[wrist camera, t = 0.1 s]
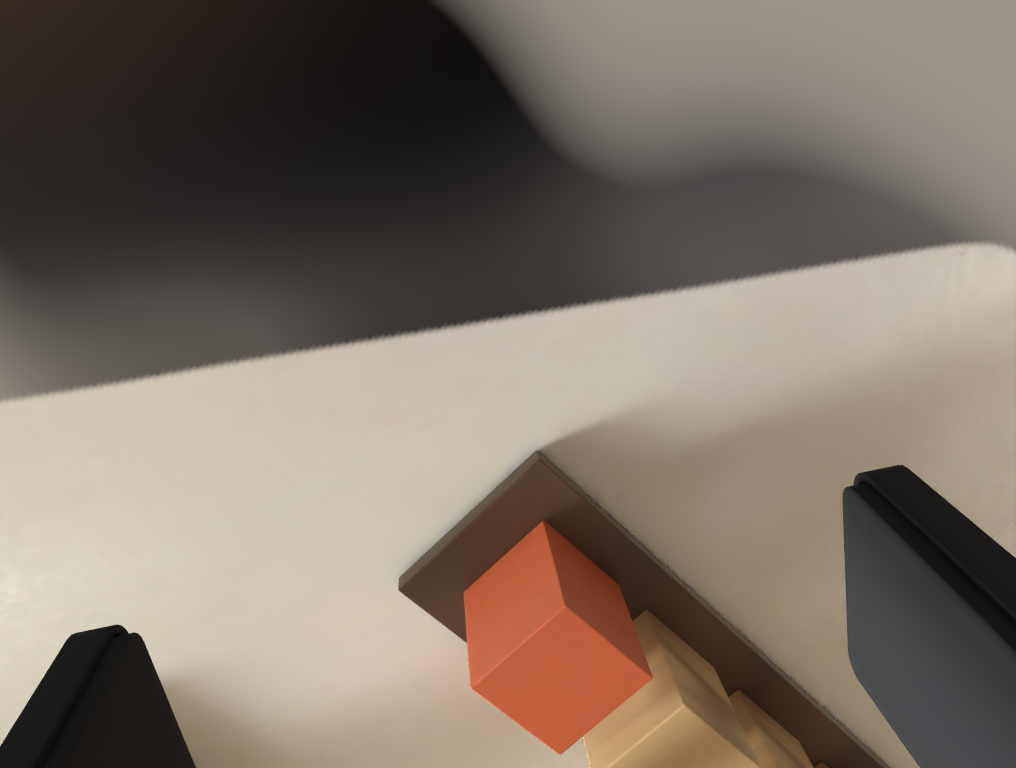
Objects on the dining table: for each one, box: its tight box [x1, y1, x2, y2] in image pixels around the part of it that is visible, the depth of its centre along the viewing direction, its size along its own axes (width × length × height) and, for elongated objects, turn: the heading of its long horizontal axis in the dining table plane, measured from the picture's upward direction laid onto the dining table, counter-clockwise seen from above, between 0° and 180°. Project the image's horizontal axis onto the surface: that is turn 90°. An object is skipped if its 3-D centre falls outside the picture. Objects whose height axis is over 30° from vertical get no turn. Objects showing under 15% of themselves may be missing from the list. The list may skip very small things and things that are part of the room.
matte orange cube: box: [464, 520, 653, 754], centre depth 28 cm, size 4×4×5 cm
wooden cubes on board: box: [399, 451, 889, 768], centre depth 31 cm, size 24×7×6 cm, turn 45°
